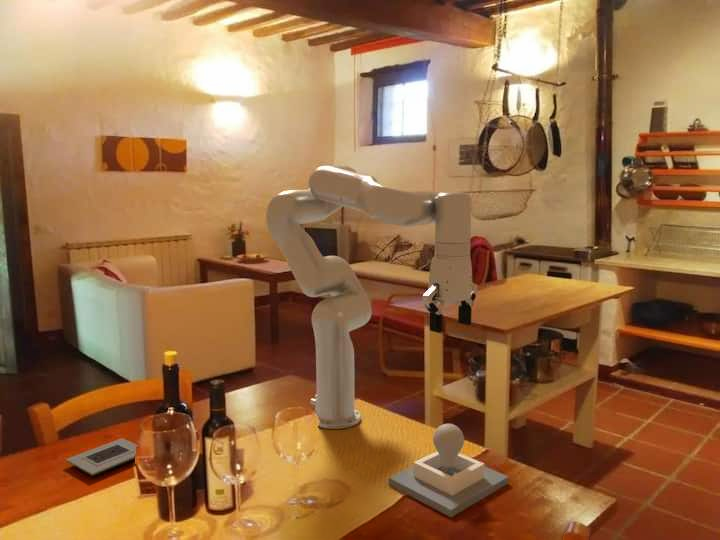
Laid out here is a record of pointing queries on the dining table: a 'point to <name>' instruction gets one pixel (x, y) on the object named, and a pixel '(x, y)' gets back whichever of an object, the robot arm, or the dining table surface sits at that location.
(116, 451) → the electrical outlet
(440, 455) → the lightbulb
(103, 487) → the dining table surface
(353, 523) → the dining table surface
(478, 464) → the lamp base
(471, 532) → the dining table surface
